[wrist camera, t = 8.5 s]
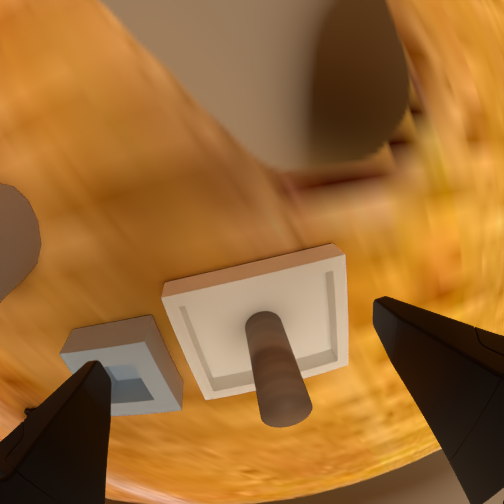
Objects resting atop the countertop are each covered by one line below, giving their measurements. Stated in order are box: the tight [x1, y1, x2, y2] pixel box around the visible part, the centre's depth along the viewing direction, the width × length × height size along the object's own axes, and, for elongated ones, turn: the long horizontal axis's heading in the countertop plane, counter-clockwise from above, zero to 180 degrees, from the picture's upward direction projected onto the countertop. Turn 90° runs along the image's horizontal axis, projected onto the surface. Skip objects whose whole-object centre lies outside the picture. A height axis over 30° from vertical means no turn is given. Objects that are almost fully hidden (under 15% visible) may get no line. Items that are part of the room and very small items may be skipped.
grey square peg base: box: [59, 315, 183, 416], centre depth 22 cm, size 8×8×4 cm
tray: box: [161, 243, 348, 400], centre depth 23 cm, size 11×13×2 cm
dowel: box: [245, 311, 312, 427], centre depth 19 cm, size 3×3×9 cm
